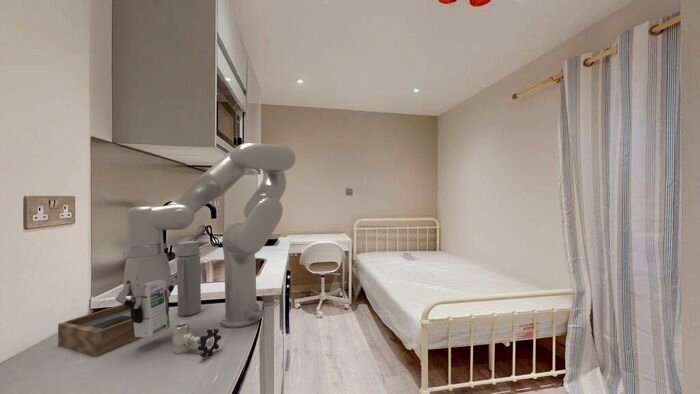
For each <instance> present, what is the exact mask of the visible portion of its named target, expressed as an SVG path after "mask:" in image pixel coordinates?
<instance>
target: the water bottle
mask: <svg viewBox="0 0 700 394" xmlns="http://www.w3.org/2000/svg"><path fill="white" fill-rule="evenodd" d="M175 255H176V256H175V260H176V264H177V265H176V272H177V274H176V275H177V277H176V279H178V282H177V284H176V285H177V314H178V316H180V317H188V316H190V317H191V316H193V315H196V314H198V313H199V312H201V309H202V295H201V294H202V289H201V288H202V287H201V280H202V279H201V255H202V254H201V251H200V243H199V241H198V240H189V241H180V242H177V245H176V254H175Z"/></svg>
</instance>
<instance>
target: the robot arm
mask: <svg viewBox="0 0 700 394" xmlns="http://www.w3.org/2000/svg"><path fill="white" fill-rule="evenodd" d="M295 163H296V155H295V151H293V150H292V149H291V148H290V147H288V146H286V145H284V144H273V143H272V144H271V143H259V142H244V143H241V144H239V145H238V146H236V147H234V148H232V149H231V150H229V152H228V153H226V154H225V155H224V156H223V157H222V158H221V159H219V160H218V161H217V162H216V163H214V164H213V165H212V166H211V167H210V168H208V170H206V171H205V172H203V173H202V174H201V176H199V177H198V178H197V179H196V180H195V181H194V182H193V183H192V184H191V185H190V186H188V187H187V188H186V189H184V190H183V191H182V192H181V193H180V194H178V195H177V196H176V197H175V198H174V199H173V200H171V202H169V203H168V204H167V205H161V206H157V205H143V206H134V207H133V206H132V207H130V208H129V209H128V211H127V215H126V216H127V228H128V246H129V258H128V259H127V258H126V261H125V264H124V265H125V266H124V271H123V288H122V289H121V291H119V293H118V294H117V296H116V297H115V298H114V299H115V301H117V302H118V303H120V304H123V305H125V306H127V307H128V308H130V309H131V320H132V321H133V322H134V323H142V321H143V318H142V308H141V307H139V305H140V303H141V300H142V297H143V296H144V295H145V284H146V283H148V282H152V281H155V280H160V279H162V280H164V281H166V286H167V299H168V311H169V312H170V297H171V296H172V292H173V290H174V289H175V287H176V285H177V282H178V279H177V277H175V276H173V275H172V274H171V273H172V272H171V266H170V262H169V258H168V255H167V253H165V249H168V244H167V243H165V242H164V236H163V235H164V233H163V231H181V230H185V229H187V228H189V227H190V226H192V224H193V223H194V221H195V216H196V215H195V214H197V213H198V212H199V211H200V210H201V209H202V208H204V207H205V206H206V205H207V204H209V203H210V202H211V201H213V200H215V199H216V200H217V199H218V198H220V197H221V196H223V195H224V194H226V193H227V192H228V191H229V190H230V189H231V188H232V187H234V185H235V184H236V183H237V182H238V181H240V179H241V178H243V177H244V176H245V175H246V174H248V172H250V170H261V171H262V174H263V175H262V176H263V177H262V181H261V183H260V184H259V185H258V188H257V189H256V190H255V192H254V193H253V194H252V196H251V197H250V199H249V200H248V201H247V203H246V204H245V206H244V209H243V214H244V217H245V219H244V221H243V222H235V223H232V224H230V225H229V226H228V227H226V229H225V230H224V231H223V234H222V238H221V240H222V241H221V243H222V250H223V251H222V252H223V258H224V262H223V263H224V296H225V297H224V298H225V299H224V303H225V304H224V305H225V306H224V307H225V314H224V315H223V316H222V317H221V318H220V320H219V323H220V325H221V326H222V327H224V328H232V329H233V328H241V327H247V326H250V325H252V324H255V323H256V322H258V321H260V320H261V319H263V317H264V315H265V314H266V310H265V309H260V304H258V303H257V274H256V270H257V268H256V267H257V266H256V265H257V264H256V256H255V255H256V254H257V253H259V252H260V251H261V250H262V249H263V247H264V246H266V244H267V242H268V240H269V239H270V238H271V235H272V234H273V232H274V231H275V229H276V228H277V226H278V225H279V222H280V221H281V219H282V216H283V211H284V209H283V205H282V202H281V198H282V197H283V195H284V193H285V190H286V188H287V178H286V177H287V176H286V172H285V171H289V170H290V169H292V168H293V167H294V165H295ZM131 294H132V295H131ZM127 297H130V298H129V299H128V298H127Z"/></svg>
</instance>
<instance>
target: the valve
mask: <svg viewBox="0 0 700 394" xmlns="http://www.w3.org/2000/svg"><path fill="white" fill-rule="evenodd" d="M190 329H191V326H190V323H189V322H180V323H177V324H175V325H174V326H173V327H172V334H173V335H172V339H171V342H172V345H173V348H172V349H173V351H172V352H173V354H175V353H176V354H177V355H180V353H181V354H183V352H184V353H187V352H188V351H189V350H190V349H191V347H192V346H194V345H196V346H197V345H198V346H197V348H196V349H197V351H199V352H201V353H200V356H199V357H201V358H206V356H207V357H212V356H213V355H214V350H218V349H219V348H220V344H218V341H221V339H222V335H220V334H218V333H219V331H220V330H219V329H218V328H214V329H212V328H208V329H207V330H206V333H207V334H206V335H201V336H198V335H197V334H196V333H194V332H191V331H190ZM208 347H210V348H208ZM189 348H190V349H189ZM186 351H187V352H186Z"/></svg>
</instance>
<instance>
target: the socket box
mask: <svg viewBox="0 0 700 394" xmlns="http://www.w3.org/2000/svg"><path fill="white" fill-rule="evenodd" d="M142 338H143V337H135V332H134V322H133V321H132V320H131V309H130V308H128V307H127V306H125V305H123V304H122V303H120V304H119V305H115V306H111V307H108V308H105V309H102V310H99V311H95V312H92V313H90V314H86V315H83V316H79V317H76V318H72V319H69V320H66V321H63V322H60V323H57V339H58V340H57V345H58V346H59V347H62V348H65V349H68V350H72V351H75V352H77V353H81V354H85V355H87V356H91V357H93V358H97V357H99V356H102V355H104V354H107V353H108V352H111V351H114V350H116V349H118V348H121V347H123V346H125V345H127V344H130V343H133V342H135V341H137V340H139V339H142Z"/></svg>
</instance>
